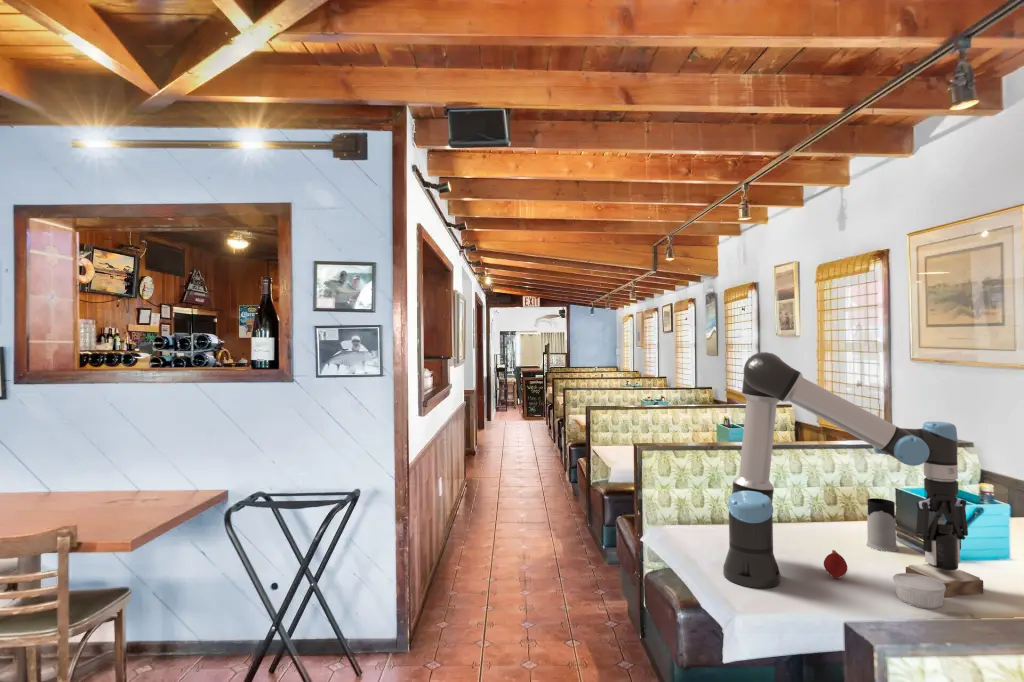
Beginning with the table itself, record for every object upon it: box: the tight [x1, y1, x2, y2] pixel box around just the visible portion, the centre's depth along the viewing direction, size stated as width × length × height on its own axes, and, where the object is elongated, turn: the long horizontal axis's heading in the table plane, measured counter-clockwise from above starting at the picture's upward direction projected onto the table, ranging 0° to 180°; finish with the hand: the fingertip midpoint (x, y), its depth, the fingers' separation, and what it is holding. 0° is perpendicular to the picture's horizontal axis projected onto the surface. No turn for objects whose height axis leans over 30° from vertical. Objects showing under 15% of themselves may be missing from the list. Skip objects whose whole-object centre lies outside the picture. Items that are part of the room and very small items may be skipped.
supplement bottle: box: [927, 519, 959, 570], centre depth 156 cm, size 7×7×12 cm
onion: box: [823, 549, 848, 580], centre depth 161 cm, size 6×6×8 cm
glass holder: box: [865, 497, 899, 552], centre depth 189 cm, size 9×14×15 cm, turn 148°
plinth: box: [905, 563, 984, 598], centre depth 155 cm, size 12×12×4 cm
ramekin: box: [892, 572, 946, 610], centre depth 147 cm, size 11×11×5 cm
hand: (942, 562), depth 156 cm, fingers closed on supplement bottle, 7 cm apart
